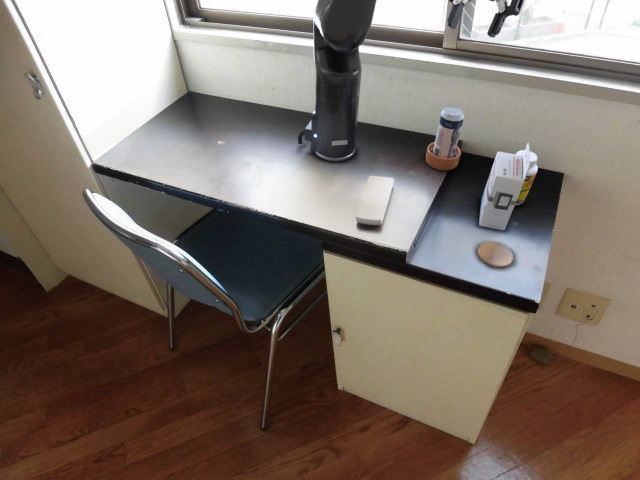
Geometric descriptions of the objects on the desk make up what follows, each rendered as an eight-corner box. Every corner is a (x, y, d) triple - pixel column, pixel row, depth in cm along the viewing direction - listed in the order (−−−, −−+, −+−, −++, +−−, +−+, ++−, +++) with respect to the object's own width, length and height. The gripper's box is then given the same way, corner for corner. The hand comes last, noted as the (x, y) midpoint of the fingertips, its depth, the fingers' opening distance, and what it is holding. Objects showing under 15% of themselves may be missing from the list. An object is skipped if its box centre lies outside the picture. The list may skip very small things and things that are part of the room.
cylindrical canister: (452, 167, 103) (465, 117, 95) (430, 164, 104) (441, 114, 96) (452, 155, 107) (465, 106, 98) (431, 152, 107) (442, 103, 99)
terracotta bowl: (422, 166, 104) (424, 155, 102) (428, 150, 109) (430, 138, 107) (455, 173, 102) (458, 162, 100) (459, 156, 107) (463, 145, 105)
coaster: (476, 262, 83) (476, 260, 83) (479, 240, 87) (480, 238, 87) (511, 271, 82) (512, 269, 81) (513, 248, 86) (514, 246, 85)
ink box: (480, 199, 96) (501, 135, 86) (505, 204, 95) (530, 140, 85) (478, 226, 90) (500, 161, 80) (504, 231, 89) (531, 166, 79)
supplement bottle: (504, 208, 94) (521, 165, 87) (491, 191, 98) (506, 149, 91) (530, 204, 95) (548, 162, 88) (515, 188, 99) (532, 146, 92)
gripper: (466, -74, 86) (430, 18, 91) (541, -69, 78) (497, 32, 83) (481, -54, 92) (447, 31, 97) (553, -47, 84) (511, 45, 88)
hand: (470, 31), depth 90 cm, fingers open, 8 cm apart
